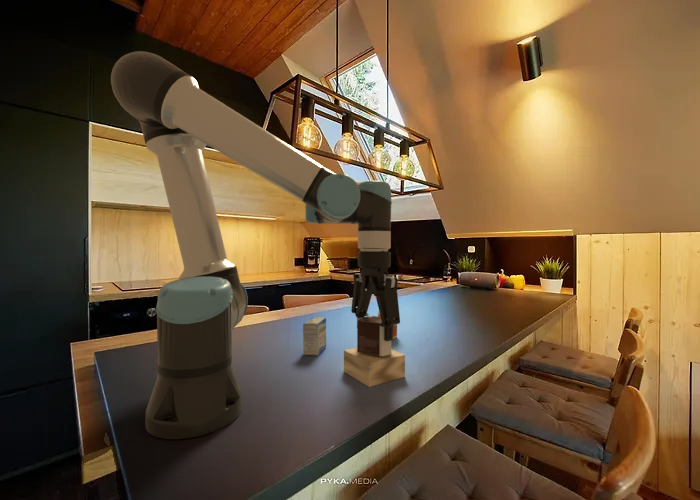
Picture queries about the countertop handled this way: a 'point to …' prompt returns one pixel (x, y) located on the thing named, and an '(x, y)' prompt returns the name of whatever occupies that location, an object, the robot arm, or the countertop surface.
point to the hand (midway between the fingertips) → (373, 349)
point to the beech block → (374, 366)
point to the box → (369, 335)
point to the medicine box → (314, 336)
